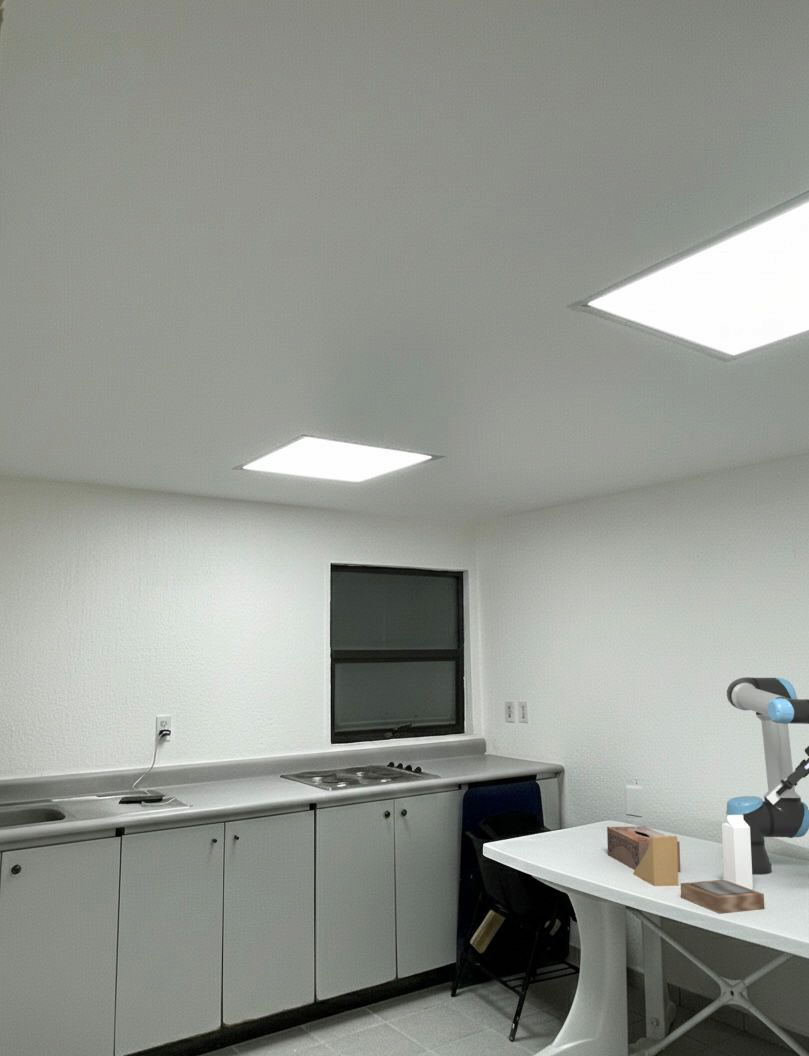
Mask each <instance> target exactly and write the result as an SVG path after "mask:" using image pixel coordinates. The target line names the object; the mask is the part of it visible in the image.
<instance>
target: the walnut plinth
mask: <svg viewBox="0 0 809 1056" xmlns="http://www.w3.org/2000/svg"><path fill="white" fill-rule="evenodd" d="M764 895H765V894H764V893H762V892H759V891H756V890H754V889H753V890H751V889H749V888H746V887H743V886H740V885H738V884H735V883H732V882H729V881H726V880H724V879H717V880H714V879H713V880H703V881H693V882H680V898H681V899H684V900H686V901H689V902H691V903H693V904H696V905H697V906H700V907H703V908H704V909H707V910H710V911H712V912H714V913H717V914H725V913H727V914H729V913H736V912H737V913H738V912H745V911H746V912H747V911H755V910H757V911H758V910H764V909H765V896H764Z"/></svg>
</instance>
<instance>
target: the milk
mask: <svg viewBox="0 0 809 1056" xmlns="http://www.w3.org/2000/svg"><path fill="white" fill-rule="evenodd" d="M721 839H722V840H721V841H722V842H721V844H722V865H723V867H722V868H723V880H726V881H729V882H732V883H735V884H738V885H740V886H743V887H746V888H749V889H751V890H754V888H753V886H754V885H753V881H754V880H753V874H752V860H751V839H750V827H749V825H748V824H747V823H746V822H745V821H744V819H743V815H727V814H726V820H725V821H724V822H723V823H721Z"/></svg>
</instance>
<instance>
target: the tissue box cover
mask: <svg viewBox="0 0 809 1056" xmlns="http://www.w3.org/2000/svg"><path fill="white" fill-rule="evenodd" d="M606 833H607V837H606V838H607V839H606V840H607V856H609V857H611V858H612V859H614V860H616V861H618V862H619V863H621V864H623V865H624V866H627V867H628V868H630V869H631V870H634V871H635V869H636V867H637V866H638V864H639V862H640V860H641V859H642V857H643V855H644V853H645V851H646V849H647V847H648V845H649V843H650V841H651V839H652V837H653V836H666V834H663V833H661V832H658V831H656V830H654V829H651V828H650V827H647V826H644V825H643V826H640V825H639V826H634V825H633V826H607V827H606ZM677 856H678V873H681V847H680V841H679V840H677Z"/></svg>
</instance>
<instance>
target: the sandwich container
mask: <svg viewBox="0 0 809 1056" xmlns="http://www.w3.org/2000/svg"><path fill="white" fill-rule="evenodd" d="M677 841H678V836H677V835H665V836H653V837H652V839H651V841H650V843H649V845H648V847H647V849H646V851H645V853H644V855H643V857H642V859H641V860H640V862H639V864H638V866H637V867H636V869H635V870H634V871H633V872H632V875H634V876H636V877H637V878H639V879H641V880H642V881H644V882H646V883H647V884H649V885H651V886H653V887H669V886H670V887H671V886H676V887H677V886H679V872H678V856H677Z"/></svg>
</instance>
